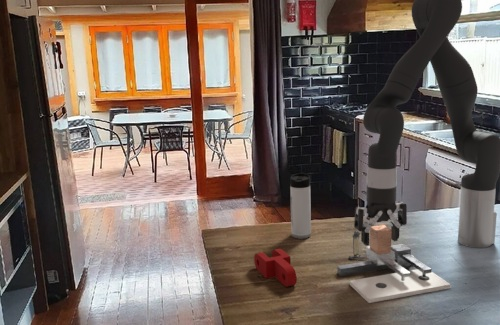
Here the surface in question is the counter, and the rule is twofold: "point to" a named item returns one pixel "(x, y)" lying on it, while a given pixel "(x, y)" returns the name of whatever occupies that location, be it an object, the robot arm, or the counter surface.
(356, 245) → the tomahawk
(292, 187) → the travel mug
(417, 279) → the bolt plate
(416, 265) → the gray bar frame
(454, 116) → the robot arm
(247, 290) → the counter surface
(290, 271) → the mechanical linkage
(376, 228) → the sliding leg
